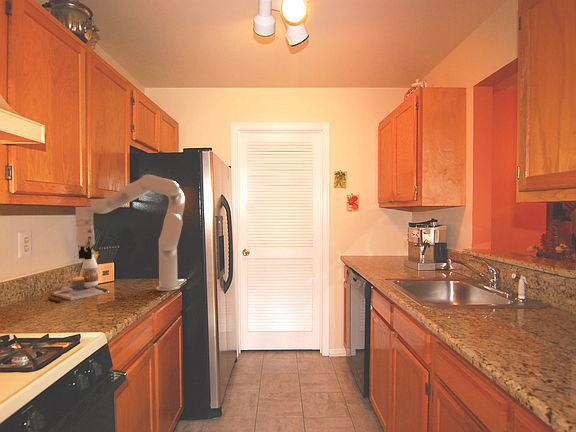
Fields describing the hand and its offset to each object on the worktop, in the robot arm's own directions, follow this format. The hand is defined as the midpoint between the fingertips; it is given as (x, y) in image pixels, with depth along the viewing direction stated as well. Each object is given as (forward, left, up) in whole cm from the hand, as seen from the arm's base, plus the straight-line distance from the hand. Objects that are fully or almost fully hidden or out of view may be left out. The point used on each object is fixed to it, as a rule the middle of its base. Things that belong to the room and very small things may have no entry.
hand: (85, 258), depth 160 cm
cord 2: (-11, -8, -19) cm, 24 cm away
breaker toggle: (0, -8, -18) cm, 19 cm away
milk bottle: (-13, -24, -20) cm, 34 cm away
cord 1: (+12, -4, -19) cm, 23 cm away
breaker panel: (0, -8, -19) cm, 21 cm away
